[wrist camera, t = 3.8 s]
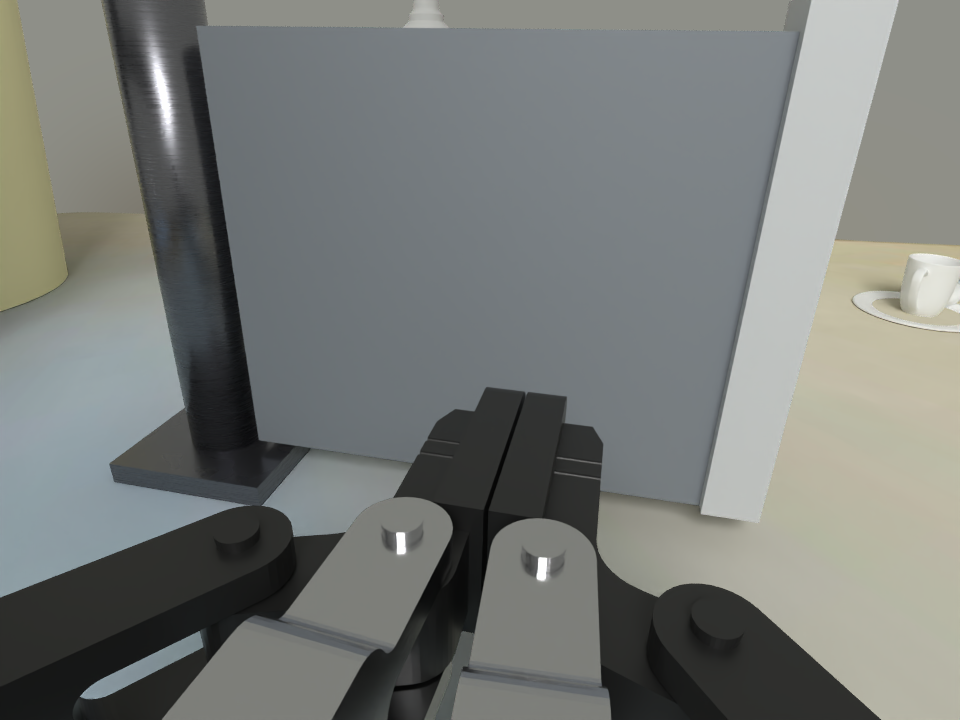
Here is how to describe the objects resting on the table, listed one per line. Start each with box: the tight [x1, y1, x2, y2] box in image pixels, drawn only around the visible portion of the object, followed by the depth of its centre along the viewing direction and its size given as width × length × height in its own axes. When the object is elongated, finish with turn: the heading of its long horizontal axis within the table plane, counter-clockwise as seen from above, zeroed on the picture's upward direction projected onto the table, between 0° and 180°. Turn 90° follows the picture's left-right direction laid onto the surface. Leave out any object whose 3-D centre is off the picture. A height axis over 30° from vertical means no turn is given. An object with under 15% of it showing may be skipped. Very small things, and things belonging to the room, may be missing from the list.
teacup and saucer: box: [853, 254, 960, 332], centre depth 42 cm, size 9×8×4 cm
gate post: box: [101, 0, 310, 506], centre depth 21 cm, size 6×6×21 cm
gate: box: [196, 0, 899, 523], centre depth 19 cm, size 18×2×15 cm, turn 77°
